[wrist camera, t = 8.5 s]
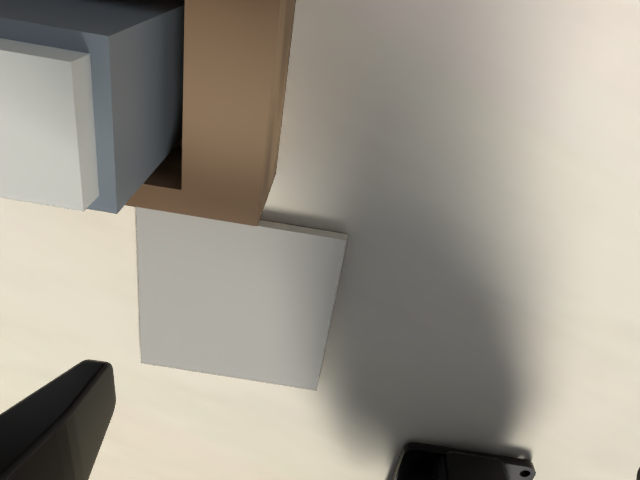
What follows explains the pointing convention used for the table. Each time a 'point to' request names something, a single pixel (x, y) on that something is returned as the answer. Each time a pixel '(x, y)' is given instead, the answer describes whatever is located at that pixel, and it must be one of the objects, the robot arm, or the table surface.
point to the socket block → (226, 112)
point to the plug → (88, 98)
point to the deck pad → (236, 296)
